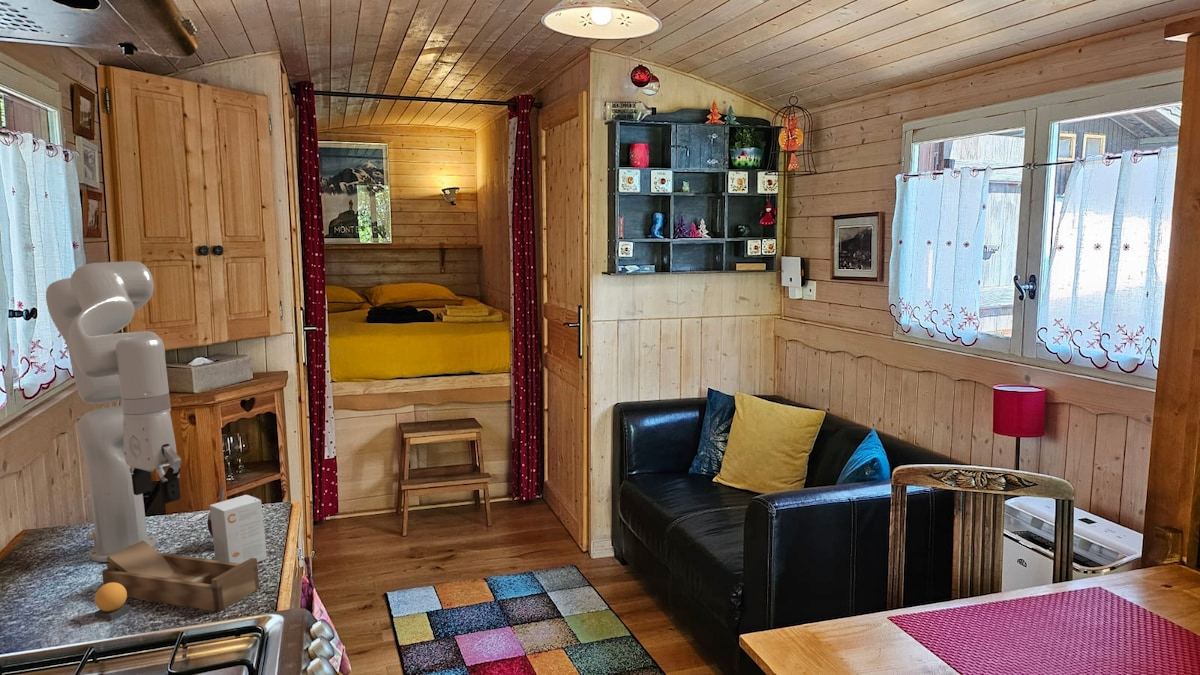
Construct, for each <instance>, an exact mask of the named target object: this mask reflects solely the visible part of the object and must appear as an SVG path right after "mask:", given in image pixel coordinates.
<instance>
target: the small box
mask: <svg viewBox="0 0 1200 675" xmlns="http://www.w3.org/2000/svg"><path fill="white" fill-rule="evenodd" d="M262 506H263V505H262V499H260V498H258V497H255V496H252V495H249V494H244V495H240V496H237V497H234V498H230V499H226V500H223V501H222V502H221V501H219V502H216V503H213V504H209V514H210V515H211V525H212V533H213V537H212V539H213V542H212V543H213V549H214V550H213V551H214V557H215V559H214V560H218V561H225V562H232V563H240V564H241V563H243V562H245V561H247V560H248V559H250V558H257V563H260V562H263V561H266V560H267V559H268V557H267V547H266V546H267V545H266V538H265V536H266V535H265V527H264V515H263V507H262Z"/></svg>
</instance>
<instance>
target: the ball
mask: <svg viewBox="0 0 1200 675" xmlns="http://www.w3.org/2000/svg"><path fill="white" fill-rule="evenodd" d="M127 598H128V597H127V591H126V589H125V587H124V586H123V585H121V584H119V583H115V582H112V583H107V584H105V585H104V584H103V585H101V586H100V587H99V588H98V589H97V591H96V593H95V596H94V604H95V605H96V606H97V608H98V610H100V609H101V610H103V611H114V610H117V609H119V608H120V607H121V606H122V605H123V604H125V603H126V600H127Z"/></svg>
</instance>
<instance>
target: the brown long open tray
mask: <svg viewBox="0 0 1200 675" xmlns="http://www.w3.org/2000/svg"><path fill="white" fill-rule="evenodd" d="M106 560H107V561H108V562H106V567H107V568H105V569H103V570H102V571H101V575H102V581H103V585H105V584H107V583H112V582H115V583H119V584H121V585H123V586H124V587H125V589H126V591H127V598H130V597H131V598H130V599H135V600H136V599H138V600H144V601H150V602H155V603H163V604H168V605H173V604H174V606H179V605H180V606H179V607H185V606H187V608H193V609H198V608H199V610H206V611H212V612H217V613H220V612H223V611H224V610H225V609H227V608H229V607H231V606H232V605H234V604H236V603H238V602H240V601H241V600H242V599H244V598H246V597H247V596H249V595H251V594H252V593H254V592H256V591H257V590H259V589H260V580H259V570H258V569H259V568H258V562H257V558H250V559H248V560H247V561H245V562H243V563H241V564H240V563H232V562H225V561H218V560H215V559H208V558H202V557H201V558H200V557H196V556H195V557H194V556H187V555H181V554H180V555H179V554H173V553H172V554H171V553H165V552H159V551H158V550H156V549H155V547H154V548H152V547H151V546H150V545H149V544H147V543H146V542H145V541H144V540H143V541H140V542H138V543H136V544H134V545H131V546H129V547H127V548H125V549H122V550H120V551H118V552H116V553H113V554H111V555H109V556H108V557H107V559H106ZM255 590H256V591H255Z"/></svg>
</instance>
